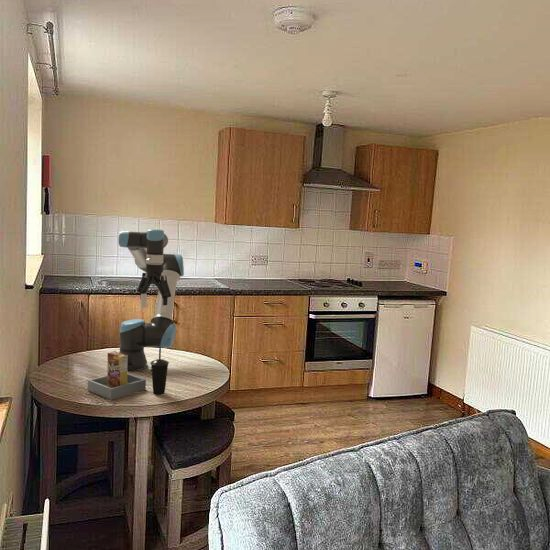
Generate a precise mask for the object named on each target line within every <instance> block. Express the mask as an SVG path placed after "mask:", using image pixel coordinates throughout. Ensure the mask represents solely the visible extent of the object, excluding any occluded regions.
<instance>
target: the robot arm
mask: <svg viewBox="0 0 550 550" xmlns="http://www.w3.org/2000/svg"><path fill="white" fill-rule="evenodd" d="M117 240H118V241H117V242H118V246H119V247H121V248H125V249H126V248H127V249H128V251H129V253H130V254H131V255H132V258H133V259H134V260H133V261H134V264H135V265H136V266H137V267H138V269H140V270H141V271H143V272H142V273H141V274H142V275H141V279H140V282H139V285H138V287H137V292H139V294H140V309H143V308H145V309H146V308H147V304H148V303H147V301H148V300H147V299H148V297H147V295H148V294H147V291H148V289H150V287H151V286H152V285H154V286H156V288H157V290H158V293H157V298H156V299H157V300H156V305H155V311H154V316H153V317H152V318H151V319H150V322H147V323H146V321H145V319H142V318H134V319H128V320H125V321H123V322H121V323H120V328H119V351H118V352H119V353H122V354H125V355H128V369H127V372H128V371H130V372H133V371H141V370H144V369H145V368H147V367H148V359H147V357H146V354H145V347H148V348H161V349H163V348H171V347H172V346H173V345H174V342H175V340H176V335H177V334H176V333H177V325H176V324H175V322H174V320H173V319H172V318H173V310H174V303H175V297H176V289H177V282H179V281H180V279H181V277H184V274H185V272H184V269H185V267H184V258H183V255H181V254H177V253H172V254H171V253H164V249H165V248H166V247H167V245H168V243H169V237H168V236H167V234H165V231H164V230H162V229H154V228H152V229H151V228H150V229H148V230H147V231H130V230H124V231H120V232H119V234H118V238H117ZM140 369H141V370H140Z"/></svg>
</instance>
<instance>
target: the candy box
mask: <svg viewBox="0 0 550 550" xmlns="http://www.w3.org/2000/svg"><path fill="white" fill-rule="evenodd" d="M119 352H120V351H115V350H113V351H109V352H107V369H106V370H107V371H106V372H107V373H106V374H107V375H106V376H107V386H108V387H111V388H114V387H118V386H121V385H125V384H127V373H128V371H127V369H128V355H125V354H122V353H119Z"/></svg>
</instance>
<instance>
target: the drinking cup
mask: <svg viewBox="0 0 550 550" xmlns="http://www.w3.org/2000/svg"><path fill="white" fill-rule="evenodd" d="M158 351H159V352H158V358H157V359H154V360H152V361H150V365H151V366H150V367H151V368H150V369H151V382H152V394H153V395H156V396H162V394H163V395H164V394H165V392H166V384H167V377H168V366H169V364H170V362H169V361H168V360H166V359H161V358H162V357H161V356H162V355H161V353H162V348H161V347H158Z"/></svg>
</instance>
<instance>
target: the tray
mask: <svg viewBox="0 0 550 550" xmlns="http://www.w3.org/2000/svg"><path fill="white" fill-rule="evenodd" d="M146 382H147V379H145V378H142V377H140V376H136V375H133V374H131V373H128V372H127V384H125V385H121V386H118V387H114V388H111V387H108V386H107V375H103V376H99V377H96V378H91V379H88V380H87V391H88V392H90V391H91V393H93V394H95V393H96V395H98V394H99V395H98V396H100V395H101V397H103V398H105V399H108V400H111V401H112V400H115V399H116V400H117V399H119V398H122V397H126V396H129V395H131V394H132V395H133V394H135V392H136V393H138V391H139V392H142V391H145V390H147V389H146V386H147V384H146Z"/></svg>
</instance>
